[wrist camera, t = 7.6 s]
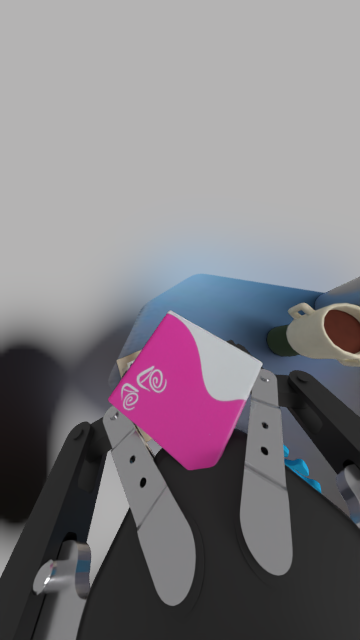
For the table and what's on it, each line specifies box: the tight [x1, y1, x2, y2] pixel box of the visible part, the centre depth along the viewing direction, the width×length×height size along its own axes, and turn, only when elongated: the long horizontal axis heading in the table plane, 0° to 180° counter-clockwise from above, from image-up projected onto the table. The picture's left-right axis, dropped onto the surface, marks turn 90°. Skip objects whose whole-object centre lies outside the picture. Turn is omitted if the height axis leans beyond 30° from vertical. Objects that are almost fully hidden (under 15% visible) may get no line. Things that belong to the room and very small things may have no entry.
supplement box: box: [108, 310, 263, 470], centre depth 12 cm, size 6×6×12 cm
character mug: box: [267, 303, 360, 367], centre depth 22 cm, size 11×7×13 cm, turn 36°
